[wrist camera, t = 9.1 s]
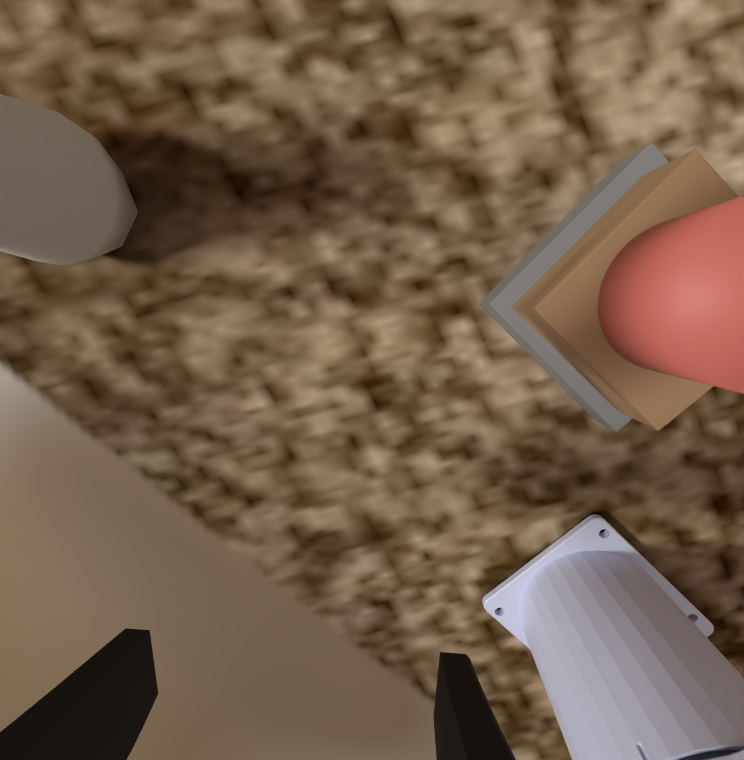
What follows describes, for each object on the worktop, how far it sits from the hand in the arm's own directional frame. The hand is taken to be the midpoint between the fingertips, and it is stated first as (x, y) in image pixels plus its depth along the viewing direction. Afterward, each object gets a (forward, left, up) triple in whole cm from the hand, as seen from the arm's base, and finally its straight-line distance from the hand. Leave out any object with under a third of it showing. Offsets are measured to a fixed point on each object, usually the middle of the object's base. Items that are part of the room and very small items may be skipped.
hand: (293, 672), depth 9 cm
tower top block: (-2, -15, -9) cm, 17 cm away
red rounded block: (-2, -15, -6) cm, 16 cm away
